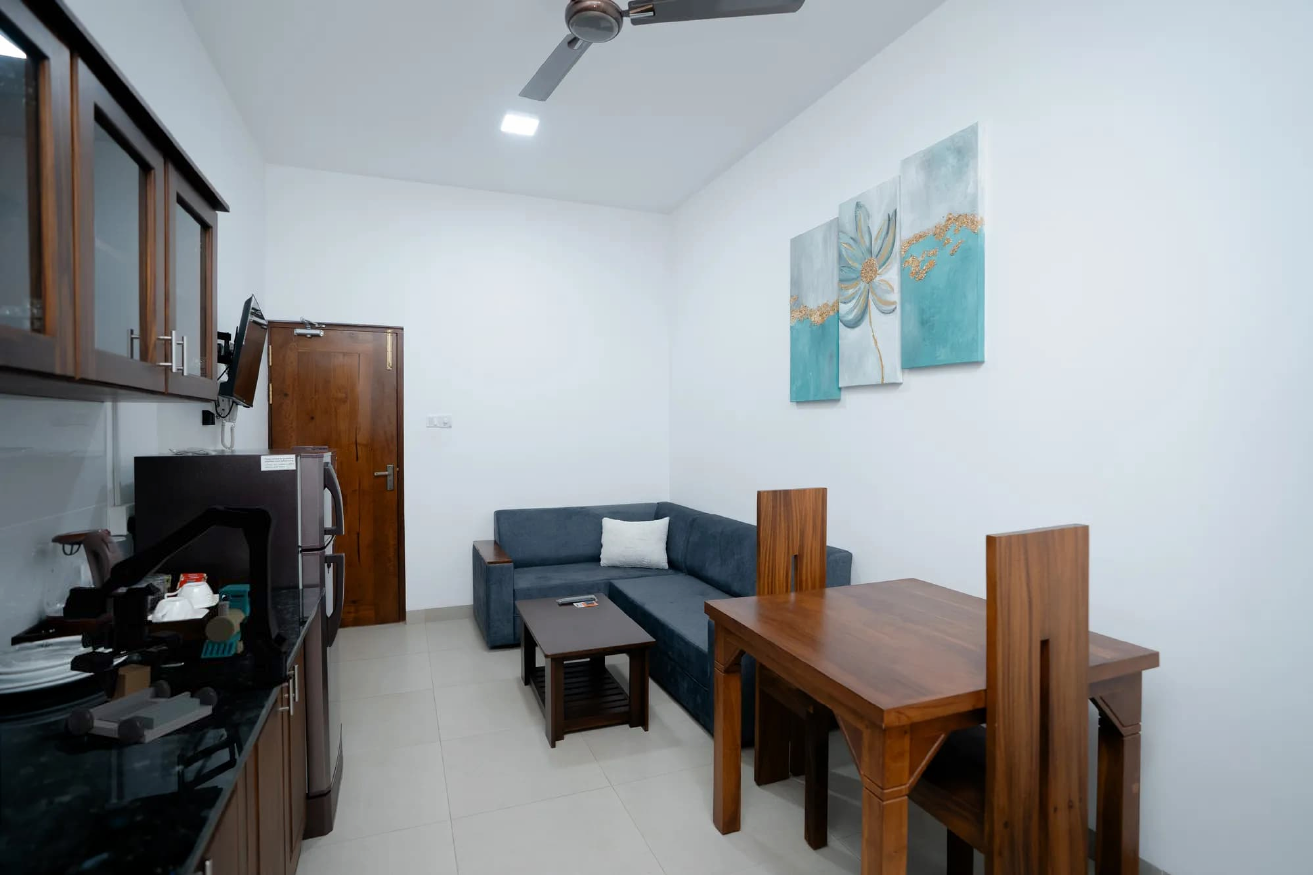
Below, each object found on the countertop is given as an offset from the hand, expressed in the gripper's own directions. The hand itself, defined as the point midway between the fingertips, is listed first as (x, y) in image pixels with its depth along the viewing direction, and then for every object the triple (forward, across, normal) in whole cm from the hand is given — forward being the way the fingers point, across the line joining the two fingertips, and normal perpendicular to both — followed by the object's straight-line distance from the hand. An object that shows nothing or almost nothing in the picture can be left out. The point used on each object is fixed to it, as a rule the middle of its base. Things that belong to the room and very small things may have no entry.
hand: (128, 691), depth 134 cm
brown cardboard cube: (+1, 0, 0) cm, 1 cm away
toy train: (+2, -30, -7) cm, 30 cm away
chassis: (+1, +8, +14) cm, 16 cm away
